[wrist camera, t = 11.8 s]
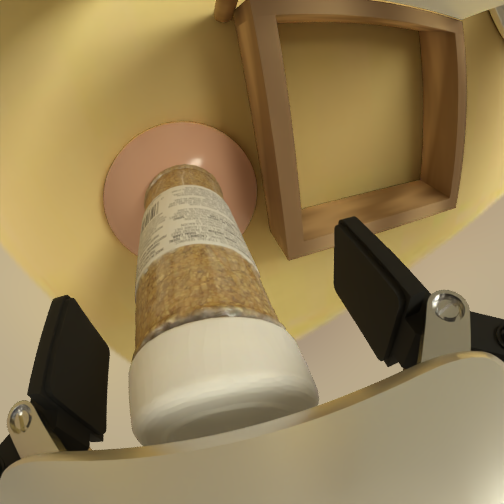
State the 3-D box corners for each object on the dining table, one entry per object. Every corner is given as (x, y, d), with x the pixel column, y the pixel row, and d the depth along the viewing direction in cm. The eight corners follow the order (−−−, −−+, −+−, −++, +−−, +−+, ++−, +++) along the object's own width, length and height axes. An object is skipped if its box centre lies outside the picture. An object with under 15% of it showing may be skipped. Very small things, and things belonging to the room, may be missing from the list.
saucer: (240, 104, 15) (243, 105, 15) (264, 239, 20) (266, 243, 20) (84, 151, 14) (81, 153, 14) (136, 275, 19) (135, 281, 19)
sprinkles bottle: (190, 246, 19) (238, 470, 8) (128, 208, 16) (101, 451, 5) (239, 191, 17) (357, 401, 7) (177, 144, 15) (216, 361, 4)
